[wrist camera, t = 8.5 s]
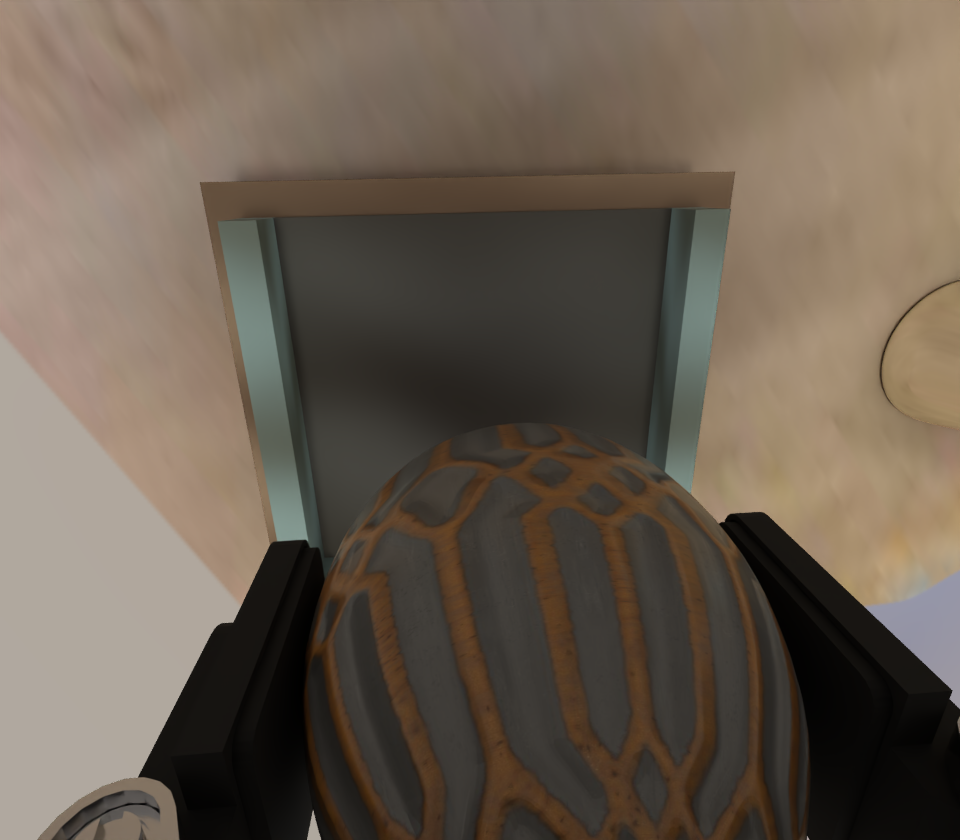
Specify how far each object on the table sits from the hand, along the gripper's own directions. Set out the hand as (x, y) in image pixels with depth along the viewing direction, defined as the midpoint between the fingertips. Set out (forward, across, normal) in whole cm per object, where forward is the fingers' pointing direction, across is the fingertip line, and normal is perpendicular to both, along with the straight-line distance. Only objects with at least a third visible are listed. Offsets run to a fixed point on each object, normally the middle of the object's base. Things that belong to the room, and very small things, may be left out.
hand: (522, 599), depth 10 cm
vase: (+3, 0, 0) cm, 3 cm away
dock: (+13, 0, 0) cm, 13 cm away
